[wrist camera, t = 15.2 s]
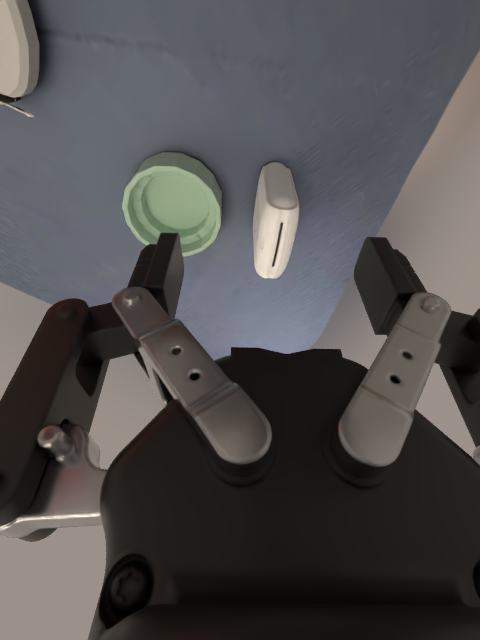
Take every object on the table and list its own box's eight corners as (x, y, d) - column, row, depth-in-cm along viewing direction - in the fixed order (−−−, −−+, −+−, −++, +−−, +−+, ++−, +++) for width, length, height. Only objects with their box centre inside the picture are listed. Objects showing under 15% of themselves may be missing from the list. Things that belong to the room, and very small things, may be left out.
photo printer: (278, 234, 47) (286, 288, 38) (250, 231, 47) (252, 285, 38) (293, 162, 39) (307, 210, 31) (260, 159, 39) (265, 206, 31)
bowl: (122, 149, 38) (110, 164, 35) (221, 151, 38) (219, 167, 35) (143, 236, 47) (135, 255, 44) (223, 237, 47) (221, 257, 44)
